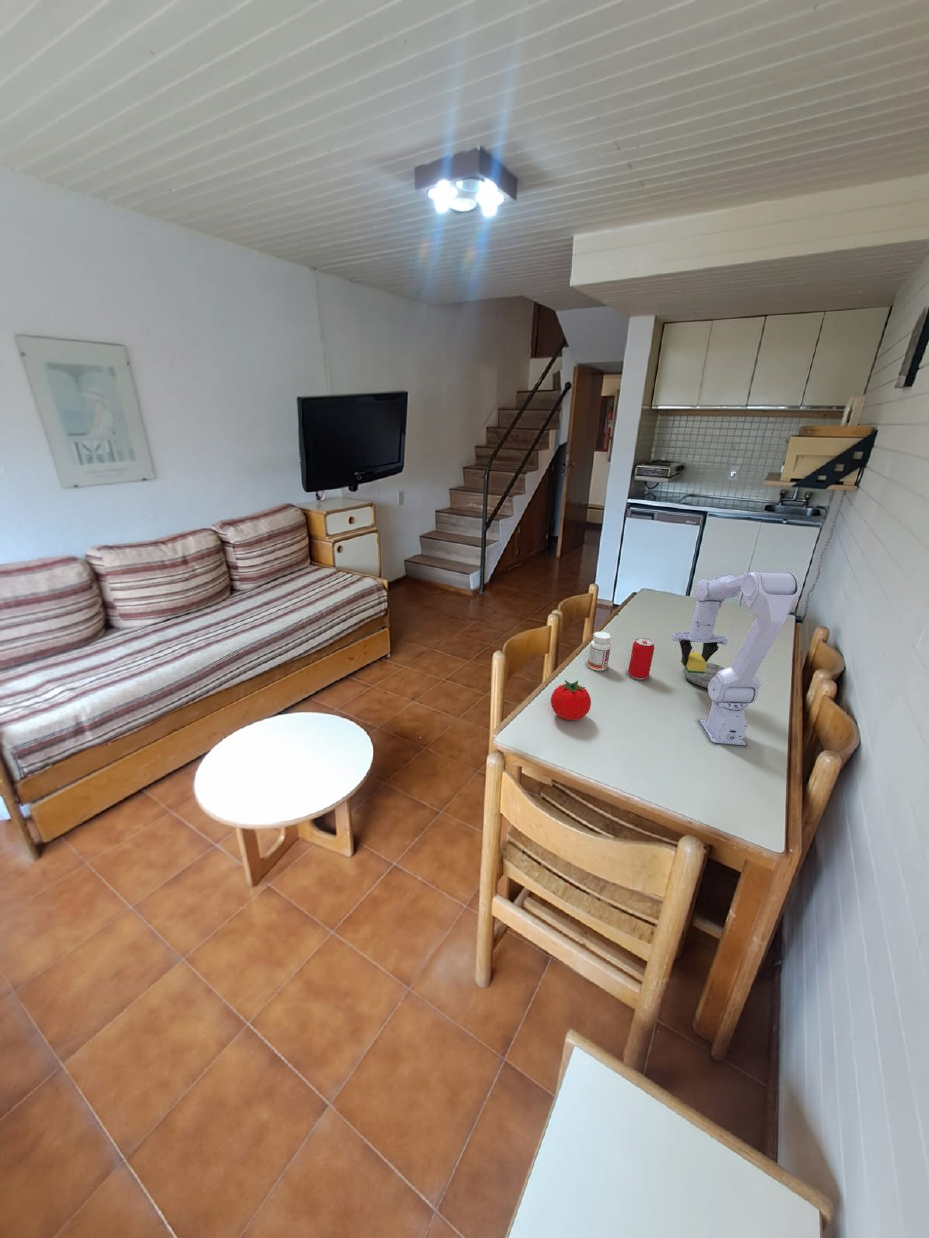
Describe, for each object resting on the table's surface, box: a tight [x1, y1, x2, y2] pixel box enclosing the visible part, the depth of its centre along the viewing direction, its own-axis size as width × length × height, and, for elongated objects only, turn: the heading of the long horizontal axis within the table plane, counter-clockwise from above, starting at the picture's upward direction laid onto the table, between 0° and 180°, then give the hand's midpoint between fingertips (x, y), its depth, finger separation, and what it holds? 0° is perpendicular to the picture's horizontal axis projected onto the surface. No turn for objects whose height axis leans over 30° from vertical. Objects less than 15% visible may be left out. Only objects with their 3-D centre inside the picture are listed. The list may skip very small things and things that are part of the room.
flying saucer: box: [682, 662, 725, 689], centre depth 151 cm, size 15×15×6 cm
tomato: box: [550, 679, 592, 721], centre depth 130 cm, size 10×10×10 cm
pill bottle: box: [587, 631, 612, 672], centre depth 156 cm, size 6×6×11 cm
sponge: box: [680, 651, 708, 674], centre depth 143 cm, size 7×4×4 cm, turn 174°
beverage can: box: [627, 637, 655, 680], centre depth 151 cm, size 6×6×12 cm
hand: (693, 664), depth 143 cm, fingers closed on sponge, 4 cm apart
